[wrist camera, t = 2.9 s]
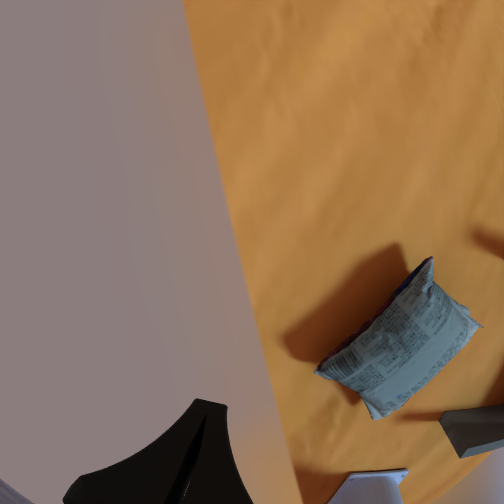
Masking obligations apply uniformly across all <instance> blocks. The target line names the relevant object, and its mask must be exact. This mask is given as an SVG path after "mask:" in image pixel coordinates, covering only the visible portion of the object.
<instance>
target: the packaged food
mask: <svg viewBox="0 0 504 504" xmlns="http://www.w3.org/2000/svg"><path fill="white" fill-rule="evenodd" d="M433 276H434V265H433V256H431V257H429V258H426V259H425V260H424V261H423V262H422V263H421V264H420V265H419V266H418V267H417V268H416V269H415V270H414V271H413V272H412V273H411V274H410V275H409V276H408V277H407V278H406V280H405V281H404V282H403V283H402V284H401V285H400V286H399V287H398V289H397V290H396V291H395V292H394V293H393V294H392V296H391V297H390V298H389V299H388V300H387V301H386V302H385V303H384V305H383V306H382V307H381V308H380V309H379V310H378V312H377V313H376V314H375V315H374V316H373V317H372V318H370V319H369V320H367V321H366V322H365V323H364V324H363V325H362V326H361V327H360V328H358V329H357V330H356V331H355V332H354V333H353V334H352V335H351V336H350V337H349V338H348V339H346V340H344V341H343V342H342V343H341V345H339V346H338V347H337V348H335V349H334V350H333V351H332V352H330V353H329V354H328V355H327V356H326V357H325V358H324V359H323V360H322V361H321V363H320V364H319V365H318V366H317V368H316V369H315V371H314V374H318V375H320V376H322V377H324V378H325V379H330V380H336V381H337V382H339V383H341V384H343V385H344V386H346V387H348V388H350V389H352V390H354V391H355V392H357V393H358V394H359V395H360V396H361V398H362V400H363V401H364V403H365V404H366V406H367V409H368V410H369V412H370V413H369V414H370V415H371V418H372V419H373V420H378V419H381V418H383V417H386V416H388V415H390V414H391V412H392V411H394V410H399V409H400V408H401V407H402V406H403V405H404V404H405V403H406V402H407V401H408V400H409V398H410V397H411V396H412V395H413V394H415V393H416V392H418V391H419V390H420V389H422V388H423V387H424V386H425V385H426V384H427V383H428V382H429V381H430V380H431V379H432V378H433V377H435V376H436V375H437V374H438V373H439V372H440V371H441V370H442V368H443V367H444V366H445V365H446V364H447V363H448V362H449V361H450V360H451V359H452V358H453V357H454V356H455V355H456V354H457V353H458V352H459V351H460V350H461V349H462V348H463V347H464V346H465V345H466V344H467V343H468V341H469V340H470V339H471V337H472V335H473V334H474V333H475V331H476V330H477V328H478V327H479V326H481V327H483V326H482V325H480V324H479V323H477V322H476V321H475V320H474V319H473V318H471V317H470V315H469V314H470V310H469V309H468V308H467V307H466V306H463V305H460V304H459V303H457V302H456V301H455V300H453V299H452V298H451V297H450V296H449V295H448V294H446V293H445V292H444V291H443V290H442V289H441V288H440V287H439V286H438V285H437V284H436V283H435V282H434V281H433ZM483 328H484V327H483Z"/></svg>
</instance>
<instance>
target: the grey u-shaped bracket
mask: <svg viewBox="0 0 504 504" xmlns="http://www.w3.org/2000/svg"><path fill="white" fill-rule="evenodd" d="M439 422H440V424H441V426H442V428H443V429H444V431H445V433H446V435H447V436H448V438H449V440H450V442H451V443H452V445H453V447H454V449H455V451H456V453H457V454H458V456H459V458H465V457H469V456H473V455H477V454H480V453H484V452H488V451H491V450H494V449H497V448H501V447H504V404H501V405H495V406H489V407H482V408H474V409H466V410H456V411H445V412H444V414H443V415H442V417H441V419H440V420H439Z"/></svg>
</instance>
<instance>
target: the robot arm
mask: <svg viewBox="0 0 504 504" xmlns="http://www.w3.org/2000/svg"><path fill="white" fill-rule="evenodd" d="M227 408H228V407H227V406H226V405H224V404H219V403H215V402H210V401H206V400H202V399H198V398H197V399H195V400H194V401H193V402H192V404H191V405H190V407H189V408H188V409H187V410H186V411H185V413H184V414H183V415H182V416H181V417H180V418H179V419H178V420H177V421H176V422H175V423H174V424H173V425H172V426H171V427H170V428H169V429H168V430H167V431H166V432H165V433H164V434H162V435H161V436H160V437H159V438H157V439H156V440H155V441H154V442H152V443H151V444H149V445H148V446H147V447H145V448H144V449H142V450H141V451H139V452H137V453H136V454H134V455H132V456H131V457H129V458H127V459H125V460H123V461H121V462H119V463H116V464H114V465H112V466H109V467H107V468H104V469H102V470H99V471H95V472H92V473H89V474H85V475H82V476H80V477H79V478H78V479H77V480H76V481H75V482H74V483H73V484H72V485H71V486H70V488H69V490H68V491H67V493H66V494H65V496H64V498H63V503H64V504H253V502H252V500H251V498H250V496H249V494H248V493H247V490H246V489H245V487H244V484H243V482H242V480H241V478H240V475H239V472H238V470H237V467H236V464H235V461H234V458H233V454H232V450H231V446H230V441H229V436H228V429H227ZM408 473H409V470H408V469H403V470H394V471H382V472H364V473H352V474H350V475H349V476H348V477H347V479H346V480H345V482H344V483H343V484H342V486H341V487H340V488H339V489H338V491H337V492H336V493H335V495H334V496H333V497H332V498H331V500H330V501H329V502H328V503H327V504H403V501H402V498H401V495H400V491H399V488H398V484H399V483H400V482H401V481H402V480H403V479H404V478H405V476H406V475H407V474H408ZM190 479H191V480H190ZM188 484H189V485H188ZM187 486H188V488H187ZM186 489H187V490H186ZM185 492H186V493H185ZM184 495H185V496H184ZM0 504H34V503H32V502H31V501H29V500H28V499H27V498H25V497H24V496H22V495H21V494H19V493H18V492H17V491H15V490H14V489H13V488H11V487H10V486H9V485H8V484H6V483H5V482H4V481H2V480H1V479H0Z"/></svg>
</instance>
